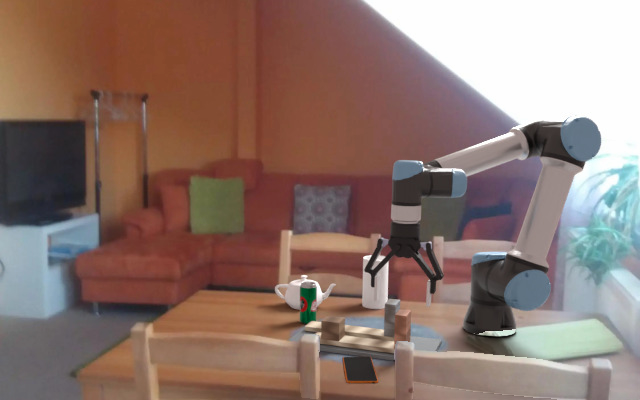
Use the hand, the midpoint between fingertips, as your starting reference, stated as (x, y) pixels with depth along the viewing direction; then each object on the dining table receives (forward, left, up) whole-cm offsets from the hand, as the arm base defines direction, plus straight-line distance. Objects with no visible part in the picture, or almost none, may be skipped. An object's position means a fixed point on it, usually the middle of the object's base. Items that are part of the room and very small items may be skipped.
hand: (402, 302), depth 176 cm
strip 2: (+11, 0, -13) cm, 17 cm away
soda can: (+33, -18, -14) cm, 40 cm away
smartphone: (+7, +14, -15) cm, 21 cm away
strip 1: (+16, -9, -13) cm, 23 cm away
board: (+11, -5, -14) cm, 19 cm away
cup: (+19, -43, -14) cm, 49 cm away
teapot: (+40, -34, -14) cm, 54 cm away
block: (+19, 0, -12) cm, 22 cm away
